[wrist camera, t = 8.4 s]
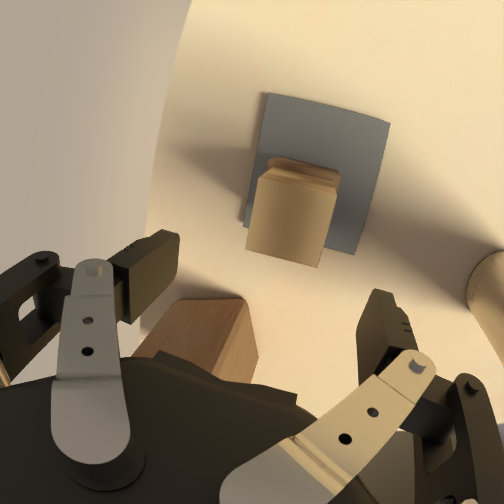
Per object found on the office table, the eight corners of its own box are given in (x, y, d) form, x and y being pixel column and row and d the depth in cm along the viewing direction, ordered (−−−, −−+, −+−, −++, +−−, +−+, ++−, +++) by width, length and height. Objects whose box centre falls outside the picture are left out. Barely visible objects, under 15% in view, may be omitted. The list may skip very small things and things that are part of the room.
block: (175, 296, 39) (85, 406, 21) (248, 295, 36) (184, 431, 18) (194, 355, 42) (131, 465, 24) (261, 358, 40) (219, 487, 22)
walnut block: (337, 170, 28) (340, 177, 23) (322, 227, 30) (322, 245, 26) (276, 155, 29) (268, 159, 24) (265, 213, 31) (254, 227, 26)
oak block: (333, 181, 24) (337, 196, 18) (318, 238, 26) (317, 267, 20) (273, 166, 24) (258, 177, 19) (261, 223, 26) (245, 249, 21)
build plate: (388, 123, 26) (390, 123, 25) (353, 251, 32) (354, 255, 31) (270, 94, 27) (268, 92, 26) (245, 223, 33) (242, 226, 32)
